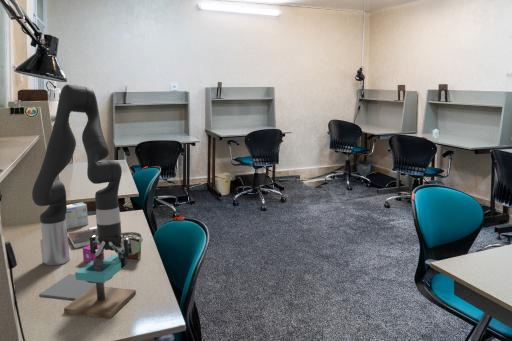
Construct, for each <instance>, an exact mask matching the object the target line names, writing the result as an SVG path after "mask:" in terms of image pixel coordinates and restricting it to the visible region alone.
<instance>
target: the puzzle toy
mask: <svg viewBox="0 0 512 341" xmlns="http://www.w3.org/2000/svg"><path fill="white" fill-rule="evenodd" d="M100 245H101V244H97V248H99V246H100ZM81 248H82V258H83V262H85V263H87V264H88V263H90V262H91V261H93V260H95V259H96V255H95V254H91V253H90V245H89V246H84V247H81ZM104 251H105V250H104ZM104 251H103V252H102V254H103V260H105V253H104Z"/></svg>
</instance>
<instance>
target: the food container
mask: <svg viewBox="0 0 512 341" xmlns="http://www.w3.org/2000/svg"><path fill="white" fill-rule="evenodd" d="M121 237H122V238H128V237H129V238H130V240H131V248H132V254H131V255H129V256H128V257H127V261H134V262H135V261H136V262H140V261H141V258H142V257H141V256H142V255H141V254H142V243H143V241H144V239H143V236H142V234H141V233H140V232H135V231H129V232H128V231H127V232H122V233H121ZM121 244H122V245H123V243H122V242H121ZM123 247H124V245H123ZM118 249H120V248H119V247H118ZM117 256H119V254H118V253H117ZM120 258H121V257H120V256H119V260H120Z"/></svg>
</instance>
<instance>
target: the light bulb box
mask: <svg viewBox="0 0 512 341" xmlns="http://www.w3.org/2000/svg"><path fill="white" fill-rule="evenodd" d="M87 206H88V205H87V203H84V202H83V201H82V202H81V201H80V202H78V203H71V204H67V212H66V226H67V230H69V229H74V228H78V227H82V226H86V225H87V226H88V225H89V216H88V207H87Z"/></svg>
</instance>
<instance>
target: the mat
mask: <svg viewBox="0 0 512 341" xmlns="http://www.w3.org/2000/svg"><path fill="white" fill-rule="evenodd" d="M92 286H96V283H89V282H87V281H83V280H76V276H75V274H70V273H69V274H67V275H65V276H64V277H63V278H62V279H60V280H58V281H57V282H55V283H54V284H52V285H51V286H49V287H48V288H45V290H43V291H41V292H40V293H39V294H38V296H40V297H45V298H46V297H47V298H56V299H65V300H72V301H74V300H75V299H77V298H78V297H79V296H81V295H82V294H83V293H84V292H86V291H87V290H88V289H90V288H91V287H92Z"/></svg>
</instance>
